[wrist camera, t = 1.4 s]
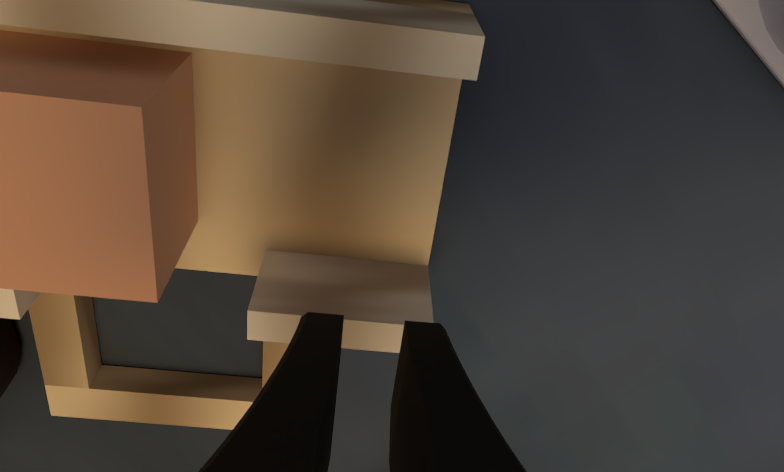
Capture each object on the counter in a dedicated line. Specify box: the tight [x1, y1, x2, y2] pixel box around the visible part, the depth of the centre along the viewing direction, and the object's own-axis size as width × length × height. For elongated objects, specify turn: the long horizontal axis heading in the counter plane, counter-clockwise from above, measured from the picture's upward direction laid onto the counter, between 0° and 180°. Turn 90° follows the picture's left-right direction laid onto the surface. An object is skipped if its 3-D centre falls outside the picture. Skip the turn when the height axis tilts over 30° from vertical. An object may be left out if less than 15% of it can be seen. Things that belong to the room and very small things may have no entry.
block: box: [0, 30, 198, 303], centre depth 16 cm, size 5×5×4 cm
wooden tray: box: [0, 0, 485, 430], centre depth 19 cm, size 18×16×4 cm
